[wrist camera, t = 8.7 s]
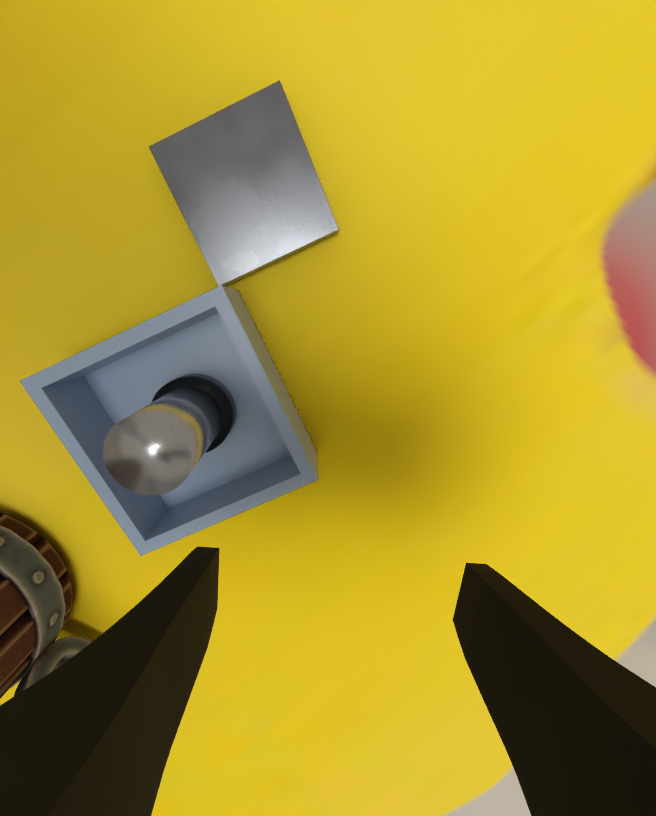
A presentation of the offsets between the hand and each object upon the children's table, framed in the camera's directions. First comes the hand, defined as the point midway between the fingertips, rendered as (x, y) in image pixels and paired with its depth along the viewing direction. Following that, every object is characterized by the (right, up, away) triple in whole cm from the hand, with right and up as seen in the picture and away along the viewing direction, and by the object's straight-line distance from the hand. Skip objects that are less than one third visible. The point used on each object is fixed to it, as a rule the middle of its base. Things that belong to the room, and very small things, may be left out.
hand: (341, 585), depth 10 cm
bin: (-7, +5, +9) cm, 12 cm away
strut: (-7, +5, +8) cm, 12 cm away
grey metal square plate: (-4, +15, +6) cm, 17 cm away
